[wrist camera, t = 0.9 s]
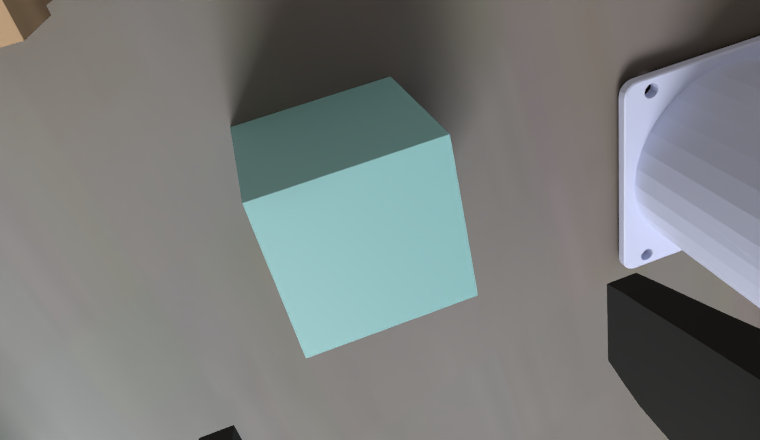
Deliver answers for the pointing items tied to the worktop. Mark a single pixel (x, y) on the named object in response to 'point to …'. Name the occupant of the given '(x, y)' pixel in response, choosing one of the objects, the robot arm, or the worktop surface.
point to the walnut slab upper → (20, 19)
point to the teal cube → (355, 212)
